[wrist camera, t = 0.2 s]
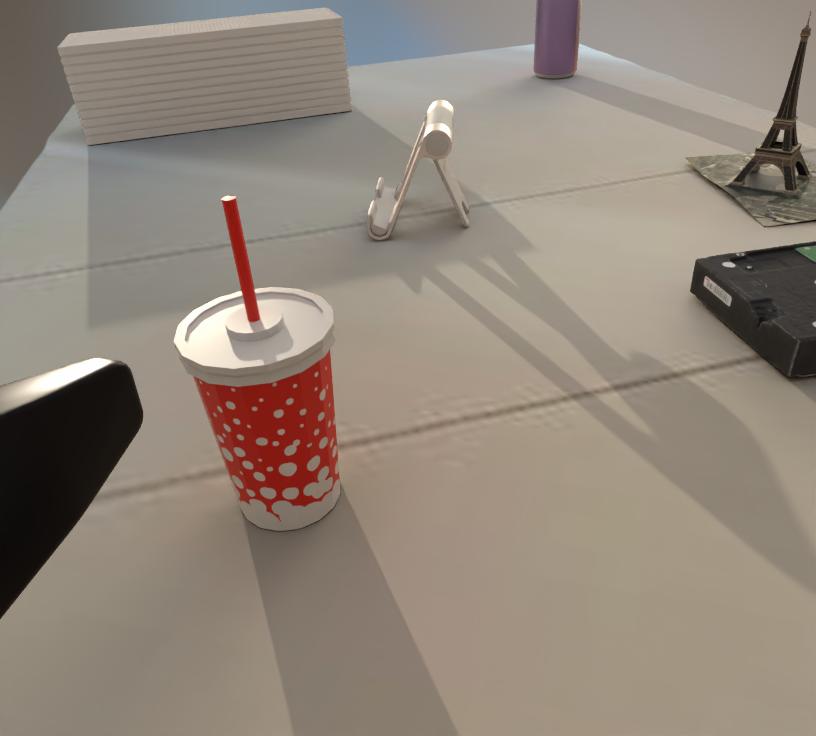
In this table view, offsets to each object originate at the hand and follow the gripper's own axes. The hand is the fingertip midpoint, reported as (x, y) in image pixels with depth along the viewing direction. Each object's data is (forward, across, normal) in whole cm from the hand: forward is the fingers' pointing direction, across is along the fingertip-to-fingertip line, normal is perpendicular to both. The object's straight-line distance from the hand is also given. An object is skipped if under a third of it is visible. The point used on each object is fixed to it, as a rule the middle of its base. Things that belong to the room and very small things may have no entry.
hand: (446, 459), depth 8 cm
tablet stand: (+46, +18, +16) cm, 52 cm away
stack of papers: (+72, +55, +16) cm, 92 cm away
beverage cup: (+14, +12, +17) cm, 25 cm away
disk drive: (+37, -12, +16) cm, 42 cm away
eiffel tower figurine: (+59, -10, +15) cm, 62 cm away
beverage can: (+100, +17, +14) cm, 102 cm away
